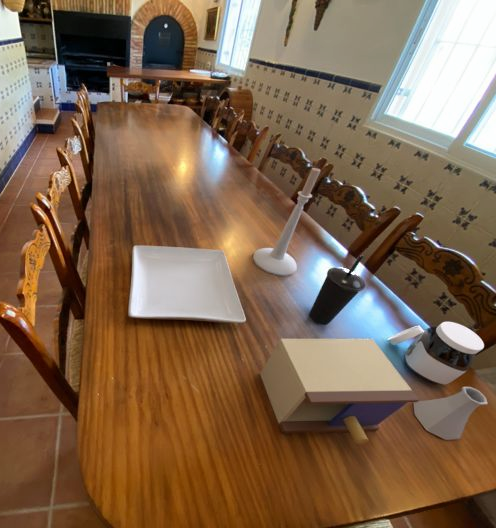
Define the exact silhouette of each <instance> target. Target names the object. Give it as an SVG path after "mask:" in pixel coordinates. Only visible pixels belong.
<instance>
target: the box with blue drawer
mask: <svg viewBox="0 0 496 528" xmlns="http://www.w3.org/2000/svg"><path fill="white" fill-rule="evenodd" d="M259 375H260V378H261V381H262V383H263V386H264V389H265V392H266V394H267V397H268V399H269V402H270V405H271V407H272V410H273V412H274V415H275V418H276V420H277V423H278V426H279V429H280V431H281V433H282V434H308V433H309V434H312V433H313V434H314V433H315V434H316V433H346V432H347V433H350V432H349V430H348V428H347V426H329V423H328V422H329V421H330V420H331V419H332V418H334V417H335V416H336V415H337V414H338V413H339V412H340V411H341V410H342V409H343V408H345V407H346V406H347V405H348V404H351V403H406V404H408V403H413V402H418V401H420V399H419V397H418V396H417V395H416V393H415V392H414V391H413V390H412V389H411V387H410V386H409V384H408V383H407V382H406V380H405V379H404V378H403V376H402V374H400V373H399V371H398V370H397V369H396V367H395V366H394V364H393V363H392V362H391V361H390V359H389V358H388V357H387V356H386V354H385V353H384V352H383V350H382V349H381V348H380V347H379V345H378V344H377V343H376V341H375V340H374V338H280V339H279V341H278V342H277V343H276V346H275V348H273V351H272V352H271V354H270V356H269V357H268V359H267V361H266V362H265V364H264V366H263V367H262V369H261V370H260V373H259ZM360 426H361V427H362V429H363V431H364V432H377V431H379V430H380V426H379V424H378V425H360Z"/></svg>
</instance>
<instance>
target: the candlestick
mask: <svg viewBox="0 0 496 528" xmlns="http://www.w3.org/2000/svg"><path fill="white" fill-rule="evenodd" d="M320 173H321V169H320V168H318V167H312V168H311V170H310V172H309V174H308V177H307V179H306V181H305V184H304V186H303V188H302V190H300V191H298V192H297V194H298V197H297V204H296V205H294V208H293V210H292V212H291V214H290V216H289V218H288V220H287V222H286V223H285V225H284V228H283V230H282V232H281V233H280V235H279V237H278V239H277V241H276V243H275V245H274V247H263V248H259V249H257V250H255V252H254V253H253V256H252V260H253V262H254V264H255V265H256V266H257V267H258V268H259V269H260V270H262V271H263V272H266V273H268V274H270V275H273V276H276V277H277V276H278V277H289V276H292V275H294V274H295V273H296V271H297V268H298V265H297V262H296V260H295V259H294V258H293V257H292V256H291V255H290V254H288V253H287V250H288V248H289V245H290V242H291V241H292V240H291V239H292V238H293V234H294V232H295V229H296V227H297V224H298V222H299V219H300V217H301V216H302V215H301V214H302V212H303V210H304V205H305V204H307V203H308V202H309V199H311V198H313V194H311V192H312V190H313V188H314V187H315V183H316V182H317V179H318V177H319V175H320Z"/></svg>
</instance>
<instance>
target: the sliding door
mask: <svg viewBox="0 0 496 528" xmlns="http://www.w3.org/2000/svg"><path fill="white" fill-rule="evenodd" d="M405 405H407V403H351V404H348V405H347V406H346V407H345V408H343V409H342V410H341V411H340V412H339V413H338V414H337V415H336V416H335V417H334V418H332V419H331V420H330V421H329V422H328V423H329V426H347V428H348V430H349V432H348V433H349V434H350V436H351V437H352V440H353V441H354V443H355V444H358V445H359V444H360V445H361V444H364V443H367V442H368V441H369V438H368V436H367V435H366V433H365V431H363V429H362V427H361V426H360V425H378V426H379V425H380V424H381V423H382V422H384V421H385V420H386V419H388V418H389V417H390V416H392V415H393V414H394V413H396V412H397V411H398V410H400V409H401V408H403V407H404V406H405Z"/></svg>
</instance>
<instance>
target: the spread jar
mask: <svg viewBox="0 0 496 528" xmlns="http://www.w3.org/2000/svg"><path fill="white" fill-rule="evenodd" d="M415 337H416V338H415ZM413 338H415V339H413ZM411 339H413V341H412V342H411V343H410V344H409V345H408V347H407V348H406V350H405V352H404V355H403V361H404V364H405V365H406V367H407V368H408V369H409V370H410V371H411V372H412V373H413V374H415V375H416V377H419V378H420V379H423V380H425V381H428V382H430V383H434V384H437V385H441V386H442V385H443V386H444V385H448V384H450V383H452V382H453V381H455V380H457V379H458V378H459V377H461V376H462V375H463V374H465V373H466V372H467V371H468V370H469V369H470V368H471V367H472V365H473V363H474V361H475V358H476V355H477V353H479V352H481V351H482V350H484V348H485V343H484V341H483V340H482V338H481V337H480V336H479V335H478V334H477V333H476V332H475V331H473V330H472V329H470V328H468V327H466V326H465V325H462V324H460V323H458V322H453V321H443V322H441V323H440V324H439V325H438V326H430V327H427V328H426V329H423V328H422V327H421V325H414V326H412V327H409V328H407V329H404V330H402V331H400V332H398V333H396V334H394V335H392V336H390V337H389V338H388V339H387V341H388V342H389V343H390V345H392V346H394V345H395V346H396V345H398V344H401V343H404V342H407V341H409V340H411Z"/></svg>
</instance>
